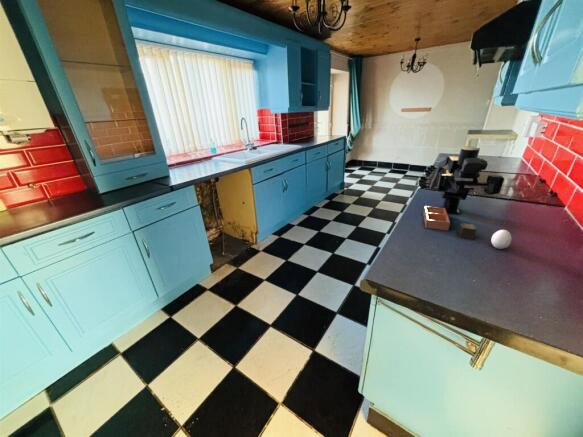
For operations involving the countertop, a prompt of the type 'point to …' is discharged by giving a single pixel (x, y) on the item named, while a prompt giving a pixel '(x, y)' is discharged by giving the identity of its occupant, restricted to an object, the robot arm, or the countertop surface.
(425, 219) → the tray
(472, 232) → the walnut block
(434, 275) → the countertop surface
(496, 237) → the egg
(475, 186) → the robot arm
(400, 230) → the countertop surface
